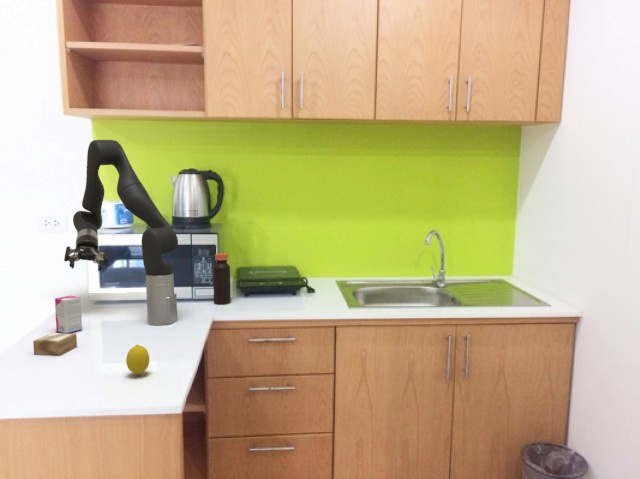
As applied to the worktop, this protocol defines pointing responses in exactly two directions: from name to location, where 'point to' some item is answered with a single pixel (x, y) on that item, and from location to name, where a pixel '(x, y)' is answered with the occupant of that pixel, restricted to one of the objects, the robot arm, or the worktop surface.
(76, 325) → the supplement box
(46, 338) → the wooden block
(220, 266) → the bottle
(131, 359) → the lemon
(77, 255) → the robot arm
